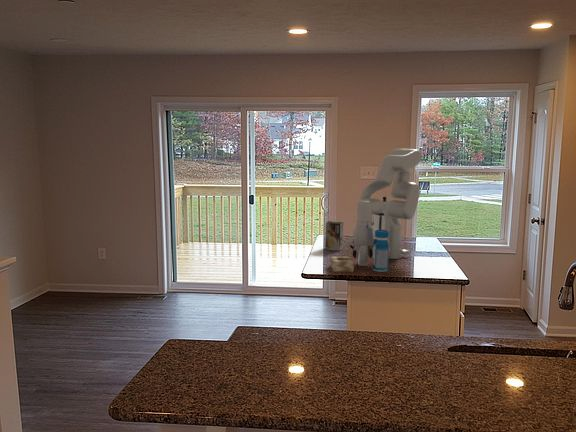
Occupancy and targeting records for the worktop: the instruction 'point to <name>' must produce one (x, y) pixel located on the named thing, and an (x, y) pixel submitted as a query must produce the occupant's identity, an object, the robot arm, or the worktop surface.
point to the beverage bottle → (380, 251)
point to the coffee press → (378, 220)
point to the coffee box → (334, 235)
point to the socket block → (342, 264)
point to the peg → (362, 255)
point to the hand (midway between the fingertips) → (362, 257)
